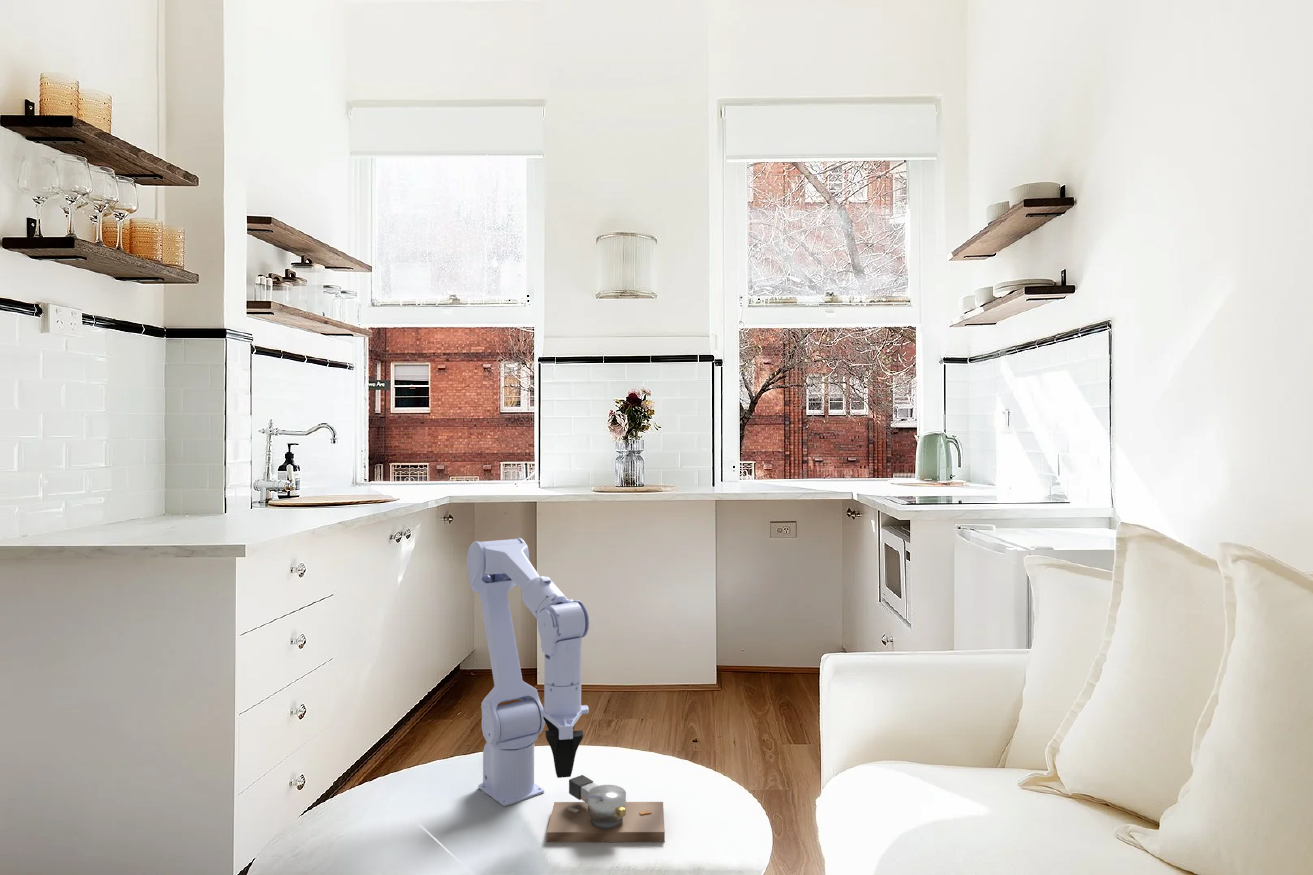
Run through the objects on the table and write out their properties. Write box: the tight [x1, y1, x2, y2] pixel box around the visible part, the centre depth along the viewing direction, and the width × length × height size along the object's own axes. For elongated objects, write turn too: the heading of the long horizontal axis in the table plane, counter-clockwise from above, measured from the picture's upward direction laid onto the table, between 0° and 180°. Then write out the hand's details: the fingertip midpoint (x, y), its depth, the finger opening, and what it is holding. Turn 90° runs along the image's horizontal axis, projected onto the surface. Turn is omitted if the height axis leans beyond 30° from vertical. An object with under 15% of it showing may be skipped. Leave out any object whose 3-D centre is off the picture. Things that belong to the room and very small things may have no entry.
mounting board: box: [546, 801, 666, 843], centre depth 122 cm, size 10×18×2 cm, turn 91°
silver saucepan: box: [568, 774, 627, 822], centre depth 122 cm, size 13×6×3 cm, turn 41°
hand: (562, 767), depth 119 cm, fingers open, 5 cm apart
